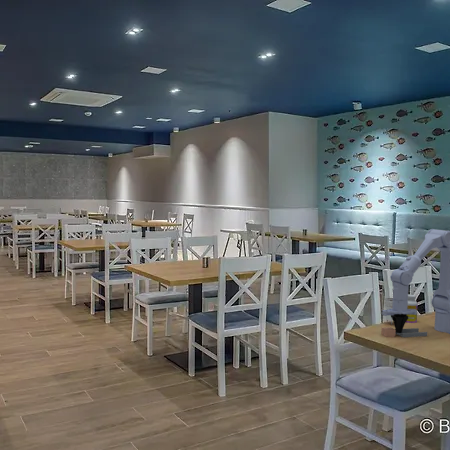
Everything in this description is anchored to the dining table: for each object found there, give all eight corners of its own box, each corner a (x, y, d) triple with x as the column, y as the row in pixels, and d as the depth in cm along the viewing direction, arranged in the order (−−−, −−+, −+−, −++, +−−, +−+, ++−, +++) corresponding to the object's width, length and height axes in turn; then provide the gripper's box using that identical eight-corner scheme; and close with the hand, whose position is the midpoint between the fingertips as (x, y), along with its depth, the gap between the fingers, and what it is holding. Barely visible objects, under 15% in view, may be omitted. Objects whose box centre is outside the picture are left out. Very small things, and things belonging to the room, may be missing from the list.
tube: (417, 334, 210) (417, 328, 210) (427, 338, 204) (427, 332, 204) (393, 335, 207) (394, 329, 207) (402, 340, 201) (403, 333, 201)
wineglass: (381, 324, 225) (383, 297, 225) (397, 325, 225) (398, 298, 224) (385, 328, 219) (386, 301, 218) (401, 329, 218) (402, 301, 217)
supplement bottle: (417, 325, 224) (419, 297, 223) (402, 324, 225) (403, 296, 225) (415, 322, 231) (416, 294, 230) (400, 321, 232) (401, 293, 231)
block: (390, 327, 206) (381, 327, 205) (395, 329, 202) (386, 330, 201) (390, 336, 206) (381, 337, 205) (395, 339, 202) (385, 340, 201)
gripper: (389, 301, 198) (387, 336, 199) (422, 300, 201) (420, 334, 202) (379, 298, 205) (378, 331, 206) (411, 297, 208) (410, 329, 209)
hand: (398, 332), depth 204 cm, fingers closed
